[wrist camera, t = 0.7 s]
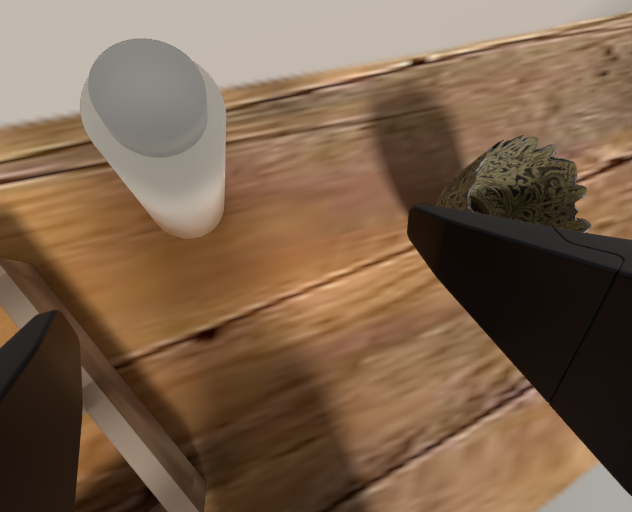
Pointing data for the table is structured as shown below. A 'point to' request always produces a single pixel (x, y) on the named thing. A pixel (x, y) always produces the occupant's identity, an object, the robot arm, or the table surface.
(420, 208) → the robot arm
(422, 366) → the table surface
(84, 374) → the socket block
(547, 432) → the table surface
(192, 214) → the plug
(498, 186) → the cup
